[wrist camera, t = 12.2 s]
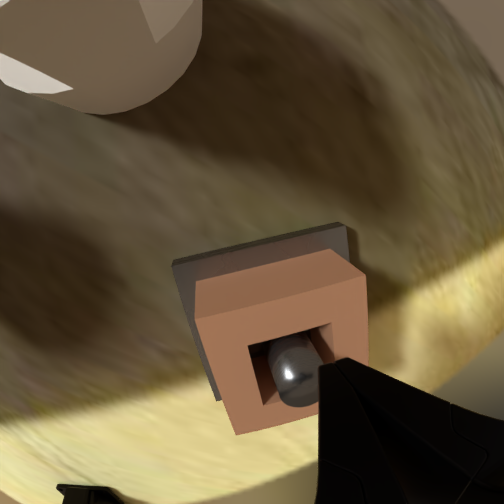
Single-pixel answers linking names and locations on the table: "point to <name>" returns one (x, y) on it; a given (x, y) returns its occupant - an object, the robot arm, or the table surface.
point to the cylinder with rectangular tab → (97, 49)
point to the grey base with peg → (282, 348)
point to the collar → (278, 328)
